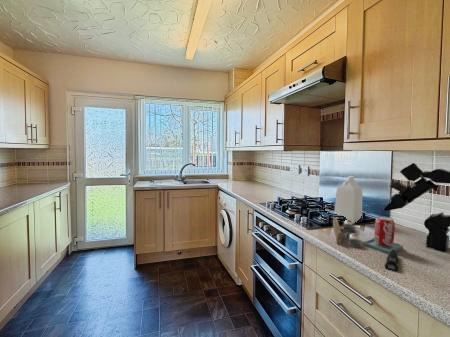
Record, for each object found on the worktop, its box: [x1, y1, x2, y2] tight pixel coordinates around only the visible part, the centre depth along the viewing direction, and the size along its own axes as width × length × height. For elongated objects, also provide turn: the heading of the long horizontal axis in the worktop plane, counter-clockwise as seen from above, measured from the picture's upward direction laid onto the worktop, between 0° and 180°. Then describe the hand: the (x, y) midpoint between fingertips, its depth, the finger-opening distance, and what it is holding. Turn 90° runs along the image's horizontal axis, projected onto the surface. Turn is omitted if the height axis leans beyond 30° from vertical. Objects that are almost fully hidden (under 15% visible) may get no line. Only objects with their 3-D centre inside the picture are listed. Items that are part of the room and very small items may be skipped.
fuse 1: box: [344, 219, 353, 225], centre depth 130 cm, size 4×4×5 cm
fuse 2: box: [348, 233, 360, 244], centre depth 109 cm, size 4×4×5 cm
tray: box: [362, 237, 404, 255], centre depth 106 cm, size 11×11×2 cm
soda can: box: [373, 215, 396, 248], centre depth 106 cm, size 7×7×12 cm
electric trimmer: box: [384, 250, 399, 273], centre depth 92 cm, size 4×16×3 cm, turn 143°
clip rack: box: [332, 216, 361, 248], centre depth 121 cm, size 10×30×5 cm, turn 160°
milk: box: [333, 175, 363, 225], centre depth 147 cm, size 12×12×26 cm
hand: (387, 208), depth 120 cm, fingers open, 9 cm apart
